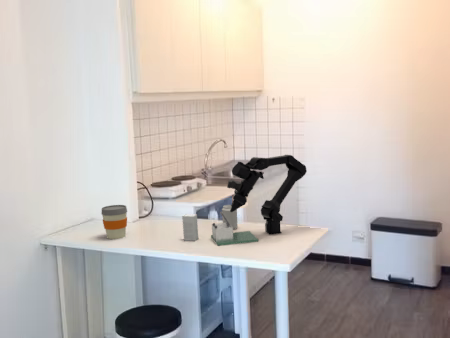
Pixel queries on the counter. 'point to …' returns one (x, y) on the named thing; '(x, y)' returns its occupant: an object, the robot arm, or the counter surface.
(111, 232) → the reusable coffee cup
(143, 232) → the counter surface
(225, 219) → the strap
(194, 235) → the skincare box
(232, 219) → the can
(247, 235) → the board
